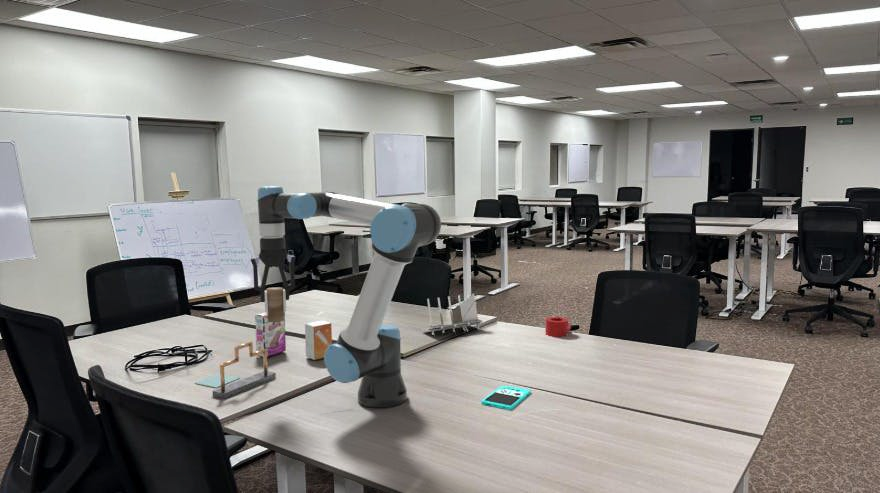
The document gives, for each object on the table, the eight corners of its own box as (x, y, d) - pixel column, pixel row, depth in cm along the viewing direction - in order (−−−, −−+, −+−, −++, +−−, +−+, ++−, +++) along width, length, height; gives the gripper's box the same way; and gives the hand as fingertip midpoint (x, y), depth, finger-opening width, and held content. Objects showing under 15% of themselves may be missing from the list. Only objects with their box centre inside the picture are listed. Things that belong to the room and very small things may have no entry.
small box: (314, 360, 220) (313, 326, 218) (305, 357, 224) (304, 323, 223) (332, 355, 225) (331, 322, 224) (323, 352, 230) (322, 319, 228)
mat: (239, 378, 201) (239, 377, 201) (216, 388, 192) (216, 387, 192) (218, 374, 205) (218, 373, 205) (194, 383, 196) (194, 382, 196)
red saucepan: (562, 338, 246) (562, 323, 246) (541, 335, 252) (542, 320, 251) (578, 329, 261) (578, 314, 260) (558, 326, 266) (558, 312, 266)
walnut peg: (284, 321, 182) (283, 289, 181) (268, 322, 181) (266, 290, 179) (283, 317, 187) (282, 286, 186) (267, 319, 185) (265, 287, 184)
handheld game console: (531, 393, 185) (531, 389, 185) (511, 411, 172) (511, 406, 172) (502, 388, 191) (502, 384, 190) (480, 404, 177) (480, 400, 177)
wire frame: (275, 378, 201) (274, 336, 199) (223, 399, 182) (221, 354, 180) (265, 376, 204) (263, 335, 202) (212, 397, 184) (210, 351, 183)
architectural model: (490, 328, 255) (484, 286, 257) (439, 336, 243) (433, 292, 246) (471, 330, 270) (465, 291, 273) (422, 338, 258) (416, 296, 261)
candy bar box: (265, 358, 223) (263, 316, 221) (256, 356, 225) (254, 314, 223) (287, 351, 232) (285, 310, 230) (277, 349, 235) (276, 308, 233)
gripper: (300, 234, 187) (303, 306, 190) (241, 236, 181) (245, 311, 184) (303, 236, 180) (306, 311, 183) (241, 239, 174) (245, 316, 177)
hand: (275, 311), depth 183 cm, fingers closed on walnut peg, 5 cm apart
